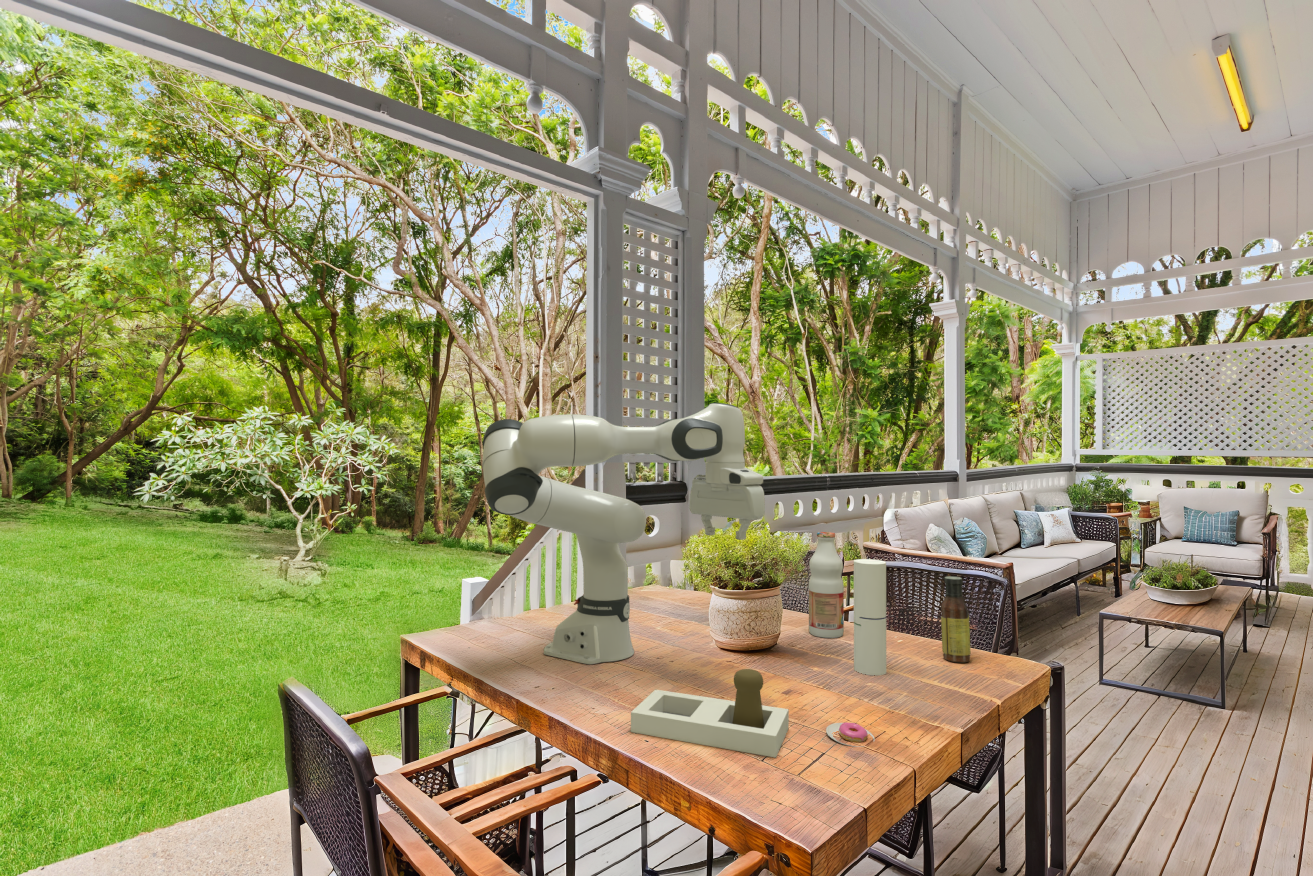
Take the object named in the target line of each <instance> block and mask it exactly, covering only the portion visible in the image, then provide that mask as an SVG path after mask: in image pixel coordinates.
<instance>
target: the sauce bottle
mask: <svg viewBox="0 0 1313 876" xmlns="http://www.w3.org/2000/svg"><path fill="white" fill-rule="evenodd" d="M943 579H944V581H943V582H944V584H945V586H944V587H945V593H944V594H945V595H944V599H943V600H942V602H941V605H940V608H941V609H940V611H941V614H940V619H941V621H940V622H941V623H940V625H941V626H940V627H941V645H942V647H941V648H942V651H941V652H942V657H943V659H945V660H946V661H947V662H952V663H958V664H963V663H964V664H965V663H968V662H970V661H971V635H970V634H971V630H970V613H969V610H968V607H967V604H966V601H965V598H964V595H963V583H964V581H963V578H962V577H959V576H949V575H948V576H945V577H944V578H943Z"/></svg>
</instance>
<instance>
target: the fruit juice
mask: <svg viewBox="0 0 1313 876" xmlns="http://www.w3.org/2000/svg"><path fill="white" fill-rule="evenodd" d="M816 539H817V545H816V548H815V549H814V553H813V555H812V556H811V557H810V559H809V565H808V567H809V571H810V577H809V580H808V631H809V634H810V635H812V636H814V637H818V638H822V639H823V638H824V639H838V638H841V637H842V636H843V635H844V632H845V631H844V629H845V627H844V625H845V624H844V620H845V619H844V618H845V617H844V615H845V614H844V613H845V611H844V609H845V608H844V607H845V605H844V603H845V601H844V600H845V599H844V598H845V597H844V593H845V592H844V591H845V589H844V586H845V585H844V581H843V578H842V573H843V570H844V564H843V563H844V562H843V560H842V558H841V557H840V556H839V553H838V552H837V549H836V545H835V539H836V533H835V532H833V531H831V532H830V531H818V532H816Z"/></svg>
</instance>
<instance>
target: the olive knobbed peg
mask: <svg viewBox="0 0 1313 876" xmlns="http://www.w3.org/2000/svg"><path fill="white" fill-rule="evenodd" d="M733 683H734V685H733V686H734V687H735V690H736V693H735V700H734V701H735V707H734V715H733V722H732V724H736V725H743V726H749V727H755V728H761V729H764V727H765V726H764V719H763V711H762V695H761V690H762V689H763V686H764V679H763V675H762V674H761V672H759V671H758V670H755V669H752V668H744V669H743V668H742V669H739V670H738V671H736V672H735V673H734V675H733Z"/></svg>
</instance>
